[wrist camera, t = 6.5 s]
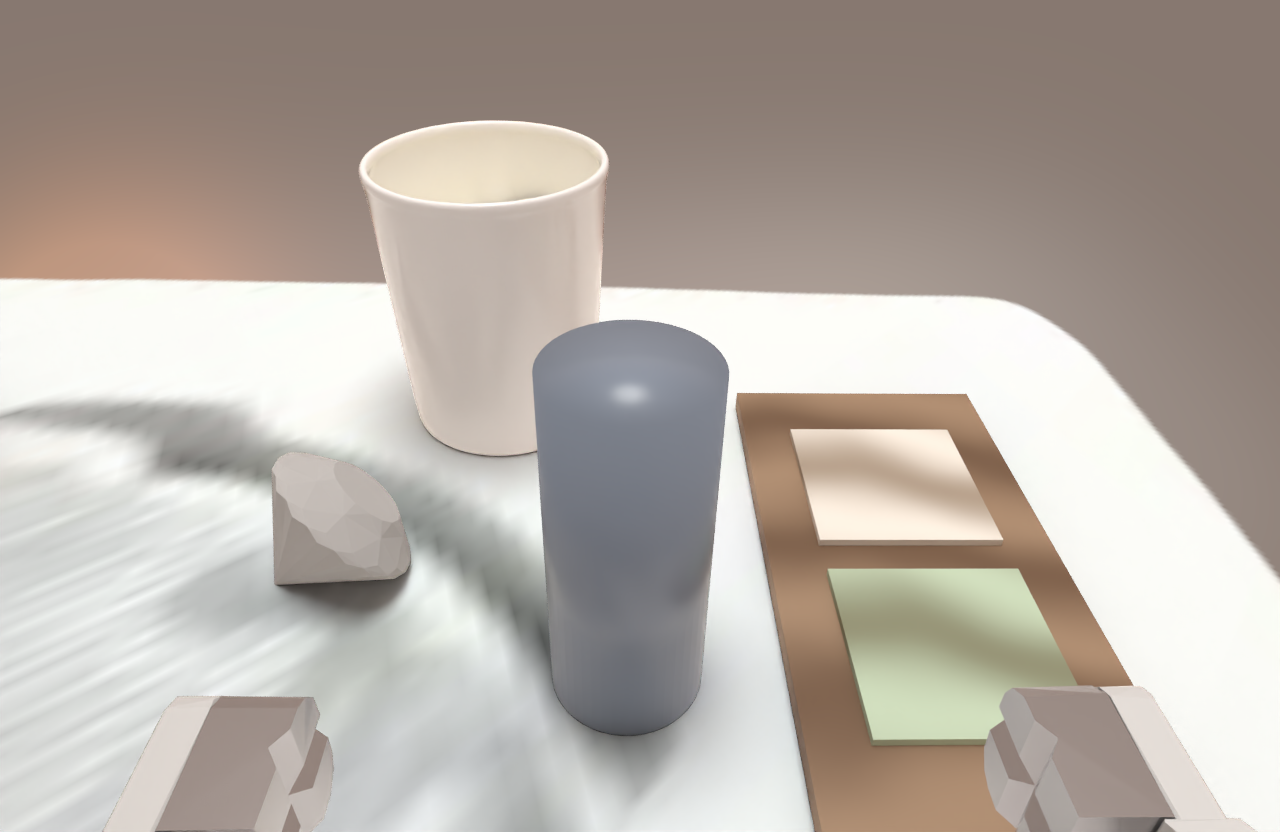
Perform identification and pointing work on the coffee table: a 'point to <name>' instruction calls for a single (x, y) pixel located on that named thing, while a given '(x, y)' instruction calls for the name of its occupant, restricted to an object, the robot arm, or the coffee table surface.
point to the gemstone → (333, 523)
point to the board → (906, 601)
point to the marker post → (628, 515)
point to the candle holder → (486, 265)
